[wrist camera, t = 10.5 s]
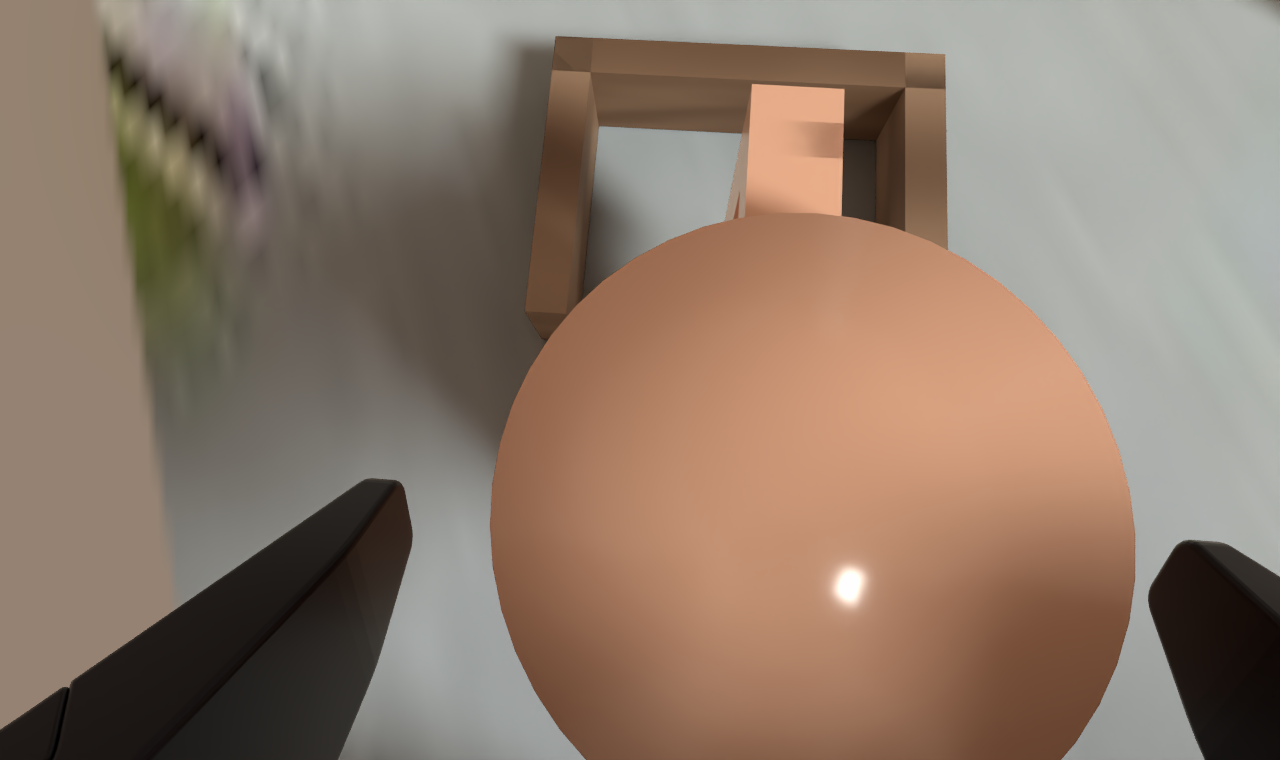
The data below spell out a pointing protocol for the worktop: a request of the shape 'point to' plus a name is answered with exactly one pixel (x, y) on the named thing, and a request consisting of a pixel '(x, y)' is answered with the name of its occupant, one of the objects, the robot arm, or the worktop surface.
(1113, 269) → the worktop surface
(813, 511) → the jug
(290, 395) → the worktop surface
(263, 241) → the worktop surface
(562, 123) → the jug cradle
